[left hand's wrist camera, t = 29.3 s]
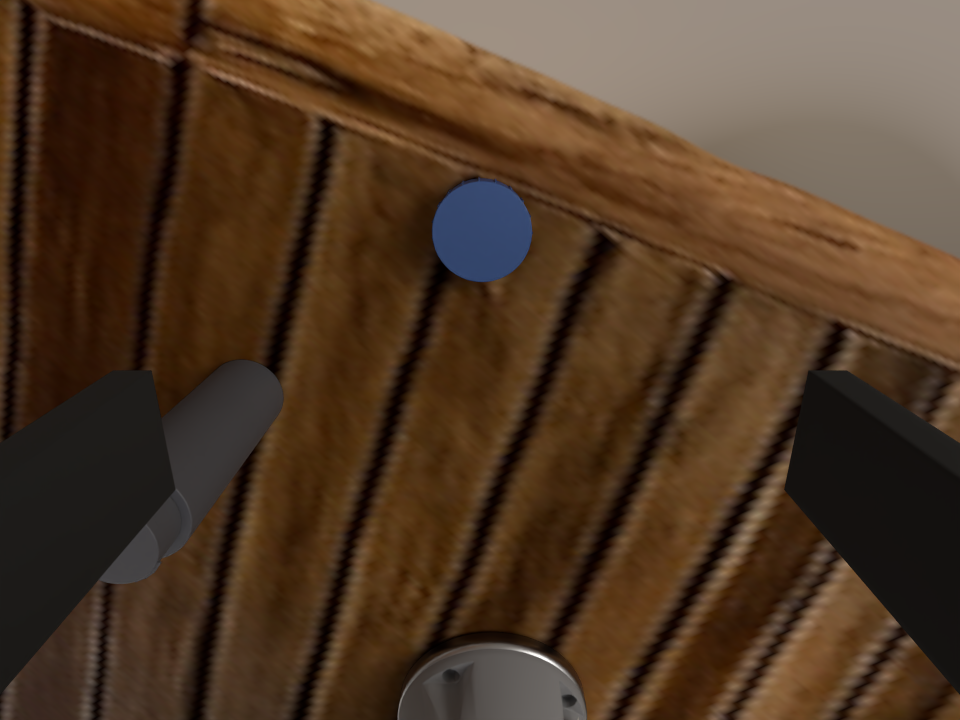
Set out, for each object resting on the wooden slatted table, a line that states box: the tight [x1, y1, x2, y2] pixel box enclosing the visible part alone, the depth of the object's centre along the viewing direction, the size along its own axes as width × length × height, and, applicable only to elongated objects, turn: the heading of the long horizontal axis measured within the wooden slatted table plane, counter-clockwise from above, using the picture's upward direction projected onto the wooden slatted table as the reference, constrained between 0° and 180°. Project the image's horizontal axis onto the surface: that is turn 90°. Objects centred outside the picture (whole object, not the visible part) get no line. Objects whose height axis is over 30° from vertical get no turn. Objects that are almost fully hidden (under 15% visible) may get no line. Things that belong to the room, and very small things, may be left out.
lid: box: [432, 177, 533, 282], centre depth 36 cm, size 6×6×2 cm
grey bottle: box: [99, 360, 283, 584], centre depth 33 cm, size 5×5×16 cm
